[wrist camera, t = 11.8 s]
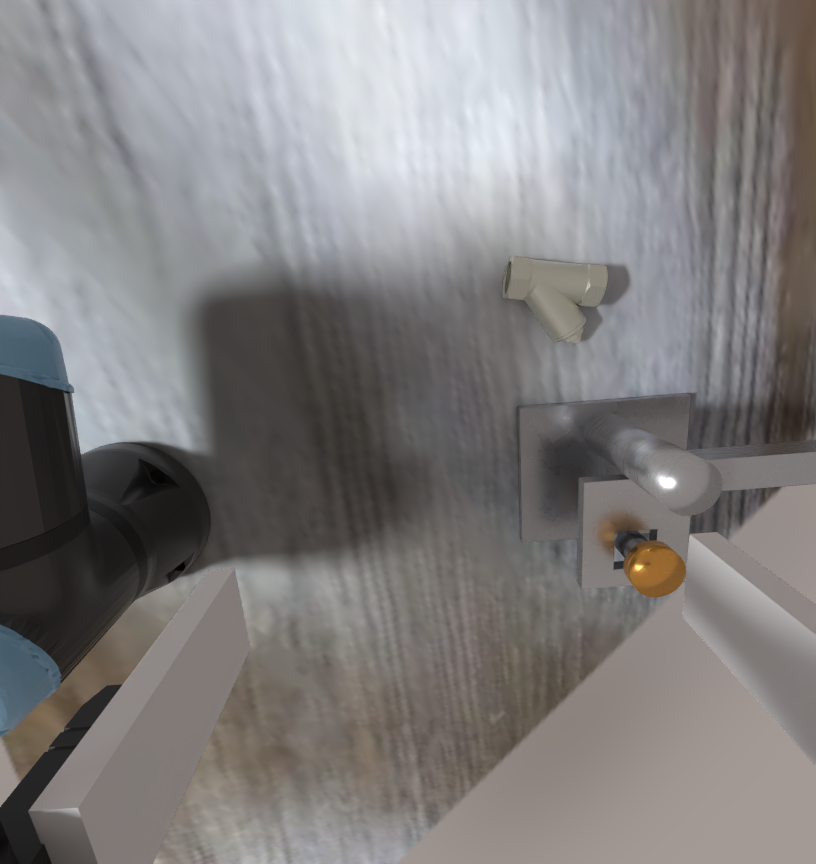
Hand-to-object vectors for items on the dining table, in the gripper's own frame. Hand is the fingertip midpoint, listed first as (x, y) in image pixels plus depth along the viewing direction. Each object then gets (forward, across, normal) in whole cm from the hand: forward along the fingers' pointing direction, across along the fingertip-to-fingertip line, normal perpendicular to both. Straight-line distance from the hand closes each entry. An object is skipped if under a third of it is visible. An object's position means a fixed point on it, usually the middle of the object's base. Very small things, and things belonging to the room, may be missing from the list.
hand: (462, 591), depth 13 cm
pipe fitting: (+32, +12, +8) cm, 35 cm away
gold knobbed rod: (+31, +17, -14) cm, 38 cm away
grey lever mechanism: (+32, +21, -10) cm, 39 cm away
